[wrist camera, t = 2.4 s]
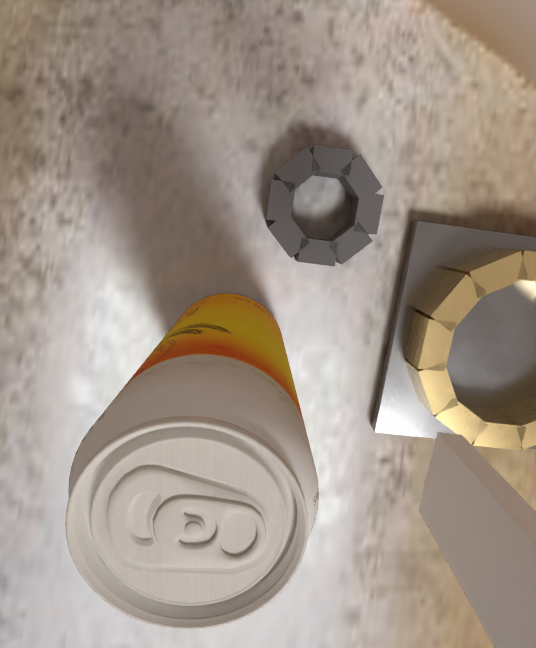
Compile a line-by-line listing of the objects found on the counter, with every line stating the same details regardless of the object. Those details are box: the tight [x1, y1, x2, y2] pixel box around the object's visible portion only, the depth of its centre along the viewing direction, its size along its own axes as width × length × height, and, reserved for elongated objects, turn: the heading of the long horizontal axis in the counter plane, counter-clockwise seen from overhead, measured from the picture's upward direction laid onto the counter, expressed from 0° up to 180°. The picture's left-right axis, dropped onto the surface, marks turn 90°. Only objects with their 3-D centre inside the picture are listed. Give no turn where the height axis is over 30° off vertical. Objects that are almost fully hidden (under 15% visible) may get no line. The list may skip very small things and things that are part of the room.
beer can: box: [65, 293, 319, 629], centre depth 16 cm, size 6×6×15 cm
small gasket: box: [266, 144, 384, 266], centre depth 22 cm, size 6×6×2 cm
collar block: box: [371, 221, 536, 450], centre depth 23 cm, size 12×12×3 cm
